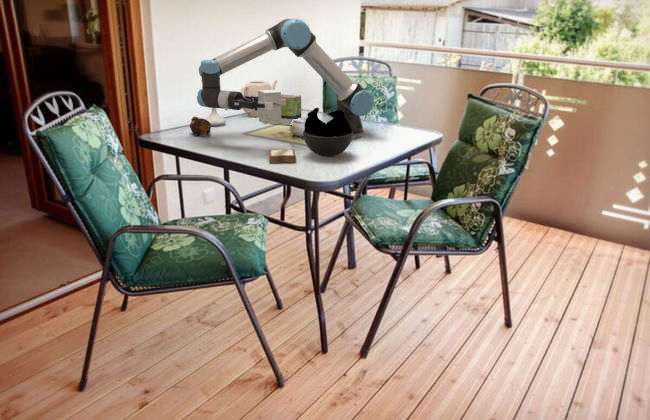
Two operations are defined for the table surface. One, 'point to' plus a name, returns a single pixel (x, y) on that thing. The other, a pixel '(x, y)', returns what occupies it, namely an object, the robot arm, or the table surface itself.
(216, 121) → the flower in vase
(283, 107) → the tea box
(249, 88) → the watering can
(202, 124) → the painted clay ocarina
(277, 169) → the table surface
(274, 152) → the walnut base
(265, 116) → the supplement box
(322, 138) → the bowl of black rocks
